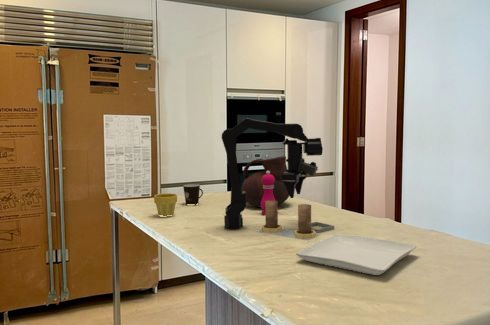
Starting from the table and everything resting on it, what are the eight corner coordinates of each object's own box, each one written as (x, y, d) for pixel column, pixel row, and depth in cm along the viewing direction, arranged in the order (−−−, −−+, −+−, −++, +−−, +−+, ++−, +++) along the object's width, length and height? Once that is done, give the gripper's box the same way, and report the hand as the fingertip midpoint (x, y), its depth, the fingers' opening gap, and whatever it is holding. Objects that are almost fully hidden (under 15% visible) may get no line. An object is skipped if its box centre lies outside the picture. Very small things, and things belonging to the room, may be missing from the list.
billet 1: (271, 232, 159) (270, 203, 158) (263, 230, 163) (262, 201, 162) (280, 230, 162) (280, 201, 161) (272, 228, 166) (271, 199, 165)
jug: (256, 199, 234) (255, 154, 232) (299, 203, 221) (298, 155, 219) (231, 208, 213) (230, 157, 211) (277, 212, 200) (276, 159, 198)
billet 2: (301, 238, 151) (301, 207, 150) (296, 234, 155) (295, 204, 154) (313, 236, 152) (313, 206, 151) (307, 233, 157) (307, 203, 156)
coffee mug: (181, 203, 227) (181, 185, 226) (197, 202, 231) (196, 183, 230) (188, 207, 217) (187, 188, 216) (204, 205, 220) (204, 186, 219)
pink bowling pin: (258, 215, 196) (257, 171, 194) (264, 212, 202) (264, 169, 200) (272, 216, 192) (272, 171, 190) (279, 213, 199) (278, 170, 197)
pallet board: (256, 234, 162) (256, 227, 161) (270, 229, 169) (270, 222, 168) (307, 243, 148) (307, 236, 148) (320, 237, 155) (320, 230, 155)
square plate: (337, 242, 150) (337, 231, 150) (417, 256, 133) (417, 244, 132) (294, 263, 129) (294, 250, 129) (383, 283, 112) (383, 268, 111)
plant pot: (180, 216, 195) (179, 195, 194) (158, 219, 191) (157, 197, 190) (174, 212, 205) (173, 192, 204) (152, 215, 200) (151, 194, 199)
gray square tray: (317, 236, 157) (317, 229, 157) (300, 231, 164) (300, 225, 164) (334, 232, 162) (334, 225, 162) (316, 227, 170) (316, 221, 169)
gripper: (309, 158, 155) (309, 201, 156) (320, 154, 172) (321, 193, 173) (279, 158, 159) (280, 199, 160) (294, 154, 176) (294, 192, 177)
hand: (295, 196), depth 168 cm, fingers open, 9 cm apart
